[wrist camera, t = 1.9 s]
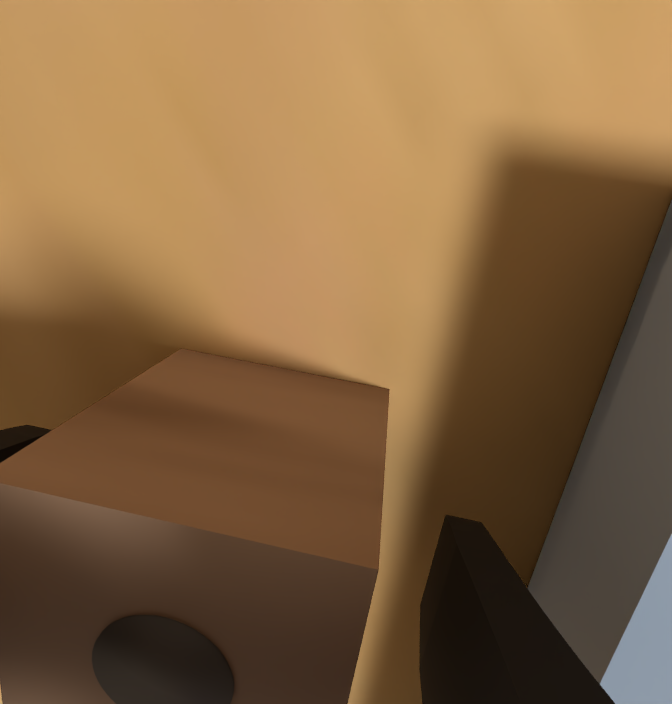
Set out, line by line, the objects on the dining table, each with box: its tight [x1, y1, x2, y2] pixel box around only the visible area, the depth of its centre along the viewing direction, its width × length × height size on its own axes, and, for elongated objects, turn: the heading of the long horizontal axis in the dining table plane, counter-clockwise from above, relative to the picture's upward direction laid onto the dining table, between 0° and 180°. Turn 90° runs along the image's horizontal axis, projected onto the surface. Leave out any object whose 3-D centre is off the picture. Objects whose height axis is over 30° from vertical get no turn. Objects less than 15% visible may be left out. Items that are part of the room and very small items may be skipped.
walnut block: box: [0, 349, 389, 704], centre depth 8 cm, size 4×4×5 cm
